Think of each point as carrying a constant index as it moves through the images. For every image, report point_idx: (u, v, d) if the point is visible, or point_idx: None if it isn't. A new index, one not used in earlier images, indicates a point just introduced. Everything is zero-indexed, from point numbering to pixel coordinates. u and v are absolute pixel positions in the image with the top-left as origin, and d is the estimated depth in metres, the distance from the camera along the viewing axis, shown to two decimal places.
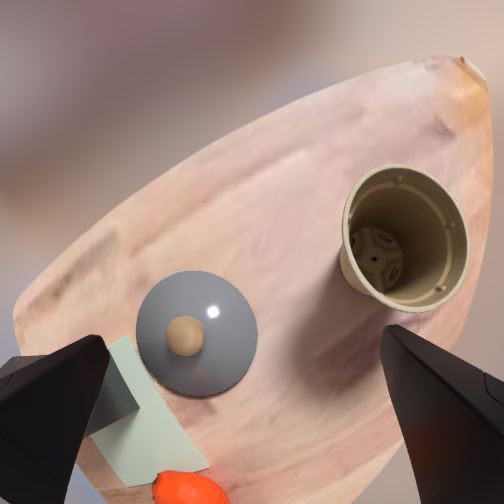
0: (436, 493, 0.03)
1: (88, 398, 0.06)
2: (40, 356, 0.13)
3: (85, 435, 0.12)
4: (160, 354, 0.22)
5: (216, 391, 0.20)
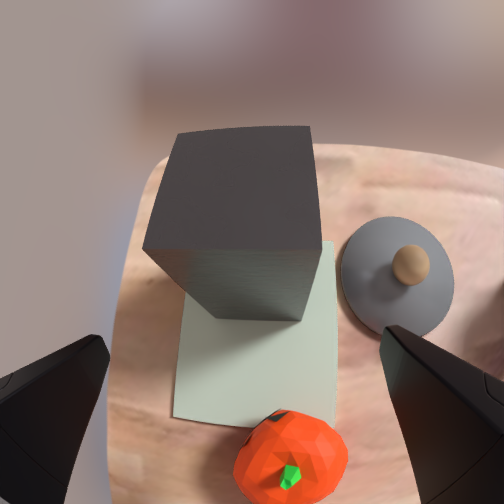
0: (436, 493, 0.03)
1: (88, 398, 0.06)
2: None
3: (312, 281, 0.12)
4: (365, 275, 0.20)
5: None
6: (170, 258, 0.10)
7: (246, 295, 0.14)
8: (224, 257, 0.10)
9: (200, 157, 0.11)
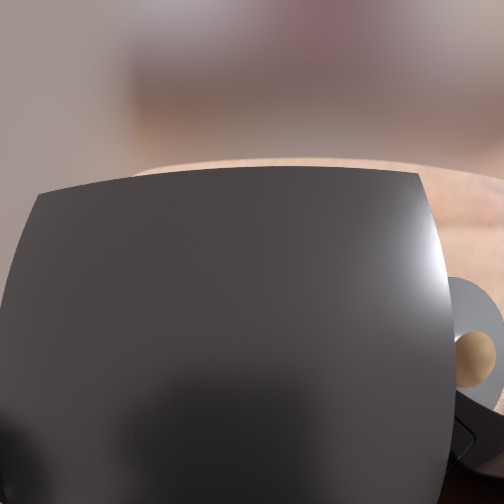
0: None
1: None
2: None
3: None
4: None
5: None
6: None
7: None
8: None
9: (53, 301, 0.03)
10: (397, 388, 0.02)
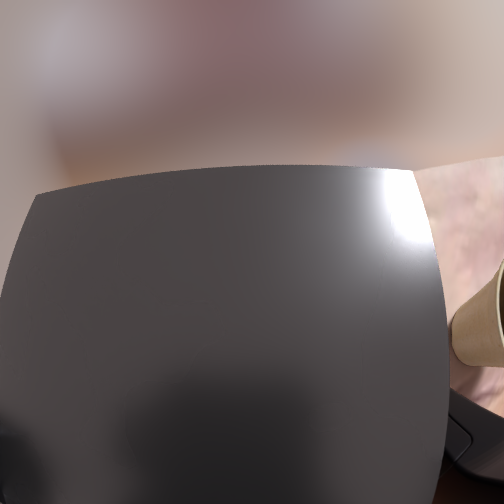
0: None
1: None
2: None
3: None
4: None
5: None
6: None
7: None
8: None
9: (49, 300, 0.03)
10: (389, 387, 0.02)
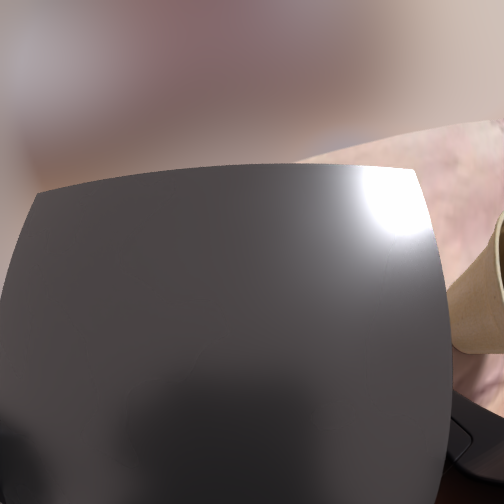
0: None
1: None
2: None
3: None
4: None
5: None
6: None
7: None
8: None
9: (50, 298, 0.03)
10: (392, 385, 0.02)
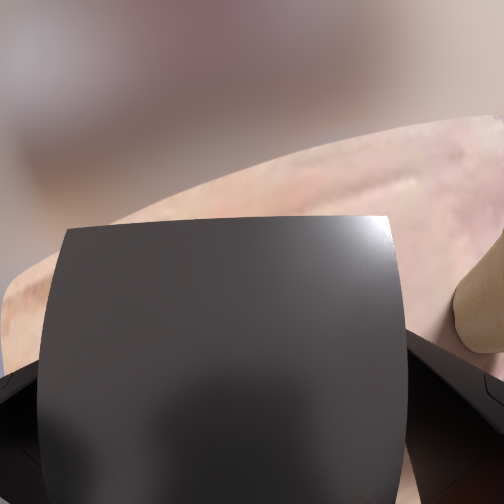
0: (436, 493, 0.03)
1: None
2: None
3: None
4: None
5: None
6: None
7: None
8: None
9: (98, 325, 0.04)
10: (360, 382, 0.03)
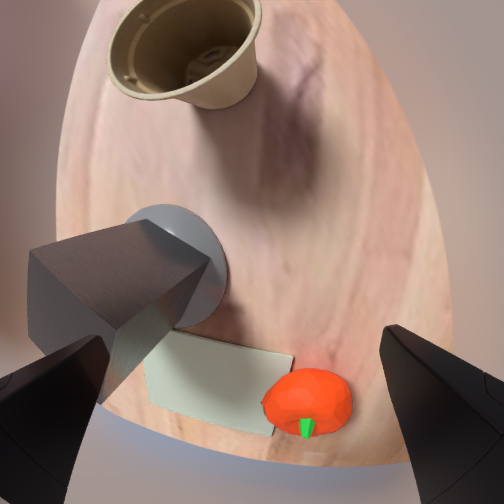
0: (436, 493, 0.03)
1: (88, 398, 0.06)
2: (65, 240, 0.13)
3: (154, 298, 0.13)
4: None
5: (221, 290, 0.22)
6: (109, 389, 0.12)
7: (156, 326, 0.16)
8: (113, 369, 0.11)
9: (46, 340, 0.11)
10: (56, 291, 0.10)
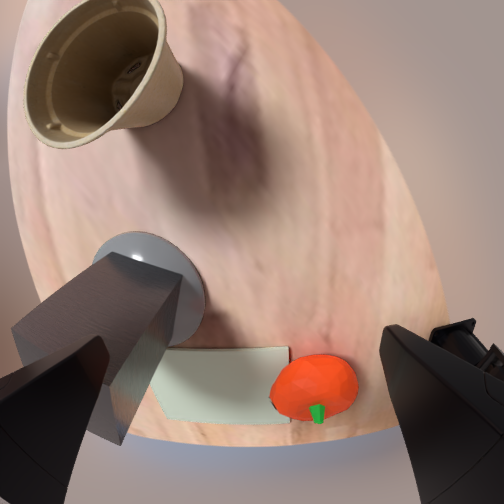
0: (436, 493, 0.03)
1: (88, 398, 0.06)
2: (40, 305, 0.12)
3: (135, 340, 0.12)
4: None
5: (201, 303, 0.21)
6: (123, 430, 0.12)
7: (148, 359, 0.15)
8: (120, 414, 0.11)
9: None
10: None
